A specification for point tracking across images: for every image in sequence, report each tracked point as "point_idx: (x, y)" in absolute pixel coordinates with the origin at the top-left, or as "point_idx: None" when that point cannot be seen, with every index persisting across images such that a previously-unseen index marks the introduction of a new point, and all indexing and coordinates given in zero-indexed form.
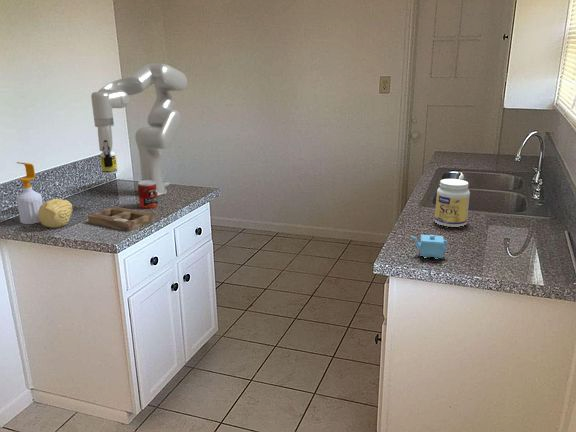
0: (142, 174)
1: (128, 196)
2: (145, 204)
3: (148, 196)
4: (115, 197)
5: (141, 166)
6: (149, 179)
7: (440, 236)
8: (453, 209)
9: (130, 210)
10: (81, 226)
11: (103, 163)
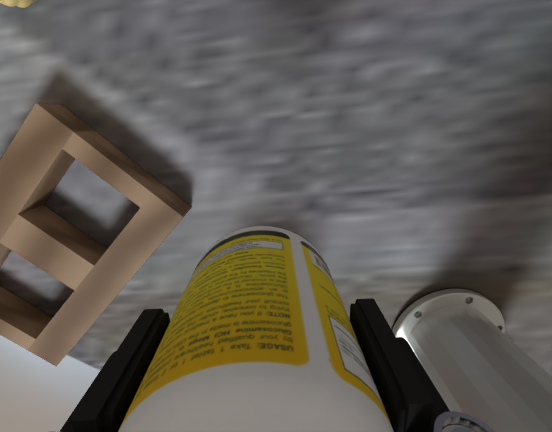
0: (494, 381)
1: (442, 244)
2: None
3: None
4: (451, 189)
5: (539, 427)
6: (445, 388)
7: None
8: None
9: (108, 286)
10: (8, 76)
11: (175, 316)
